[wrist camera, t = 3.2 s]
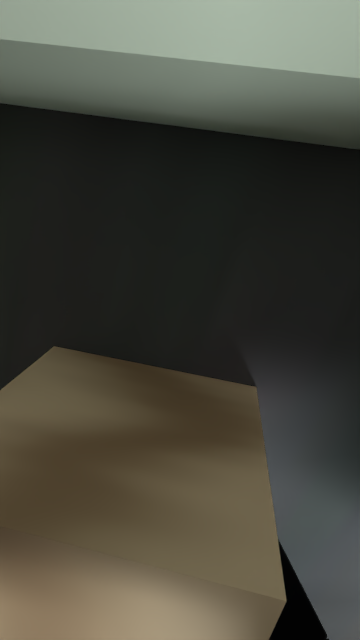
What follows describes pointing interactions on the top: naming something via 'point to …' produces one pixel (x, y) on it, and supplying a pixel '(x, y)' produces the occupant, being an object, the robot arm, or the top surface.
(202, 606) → the oak block
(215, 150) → the top surface
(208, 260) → the top surface
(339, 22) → the green tote
